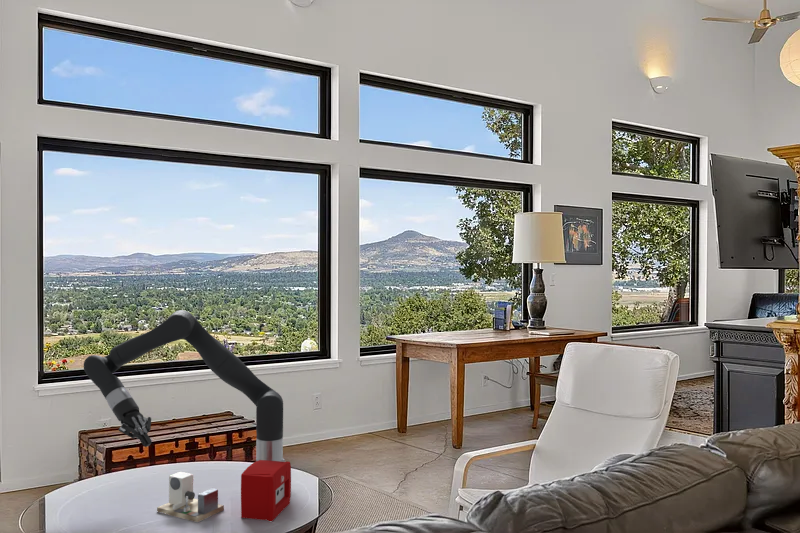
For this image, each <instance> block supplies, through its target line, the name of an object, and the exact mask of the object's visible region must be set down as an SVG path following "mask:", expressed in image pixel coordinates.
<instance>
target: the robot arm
mask: <svg viewBox="0 0 800 533" xmlns="http://www.w3.org/2000/svg"><path fill="white" fill-rule="evenodd" d="M179 340H184V341H186V342H187V343H188V344H189V345H191V346H192V347H193V348H194V349H195V350H196V351H197V353H198V354H199V356H200V357H201V359H202V360H203V362H204V363H205V365H206V366H207V367H208V368H209V369H210V371H212V373H214V375H216V376H217V377H218V378H219V379H221V381H222V382H224V383H226V384H228V385H229V386H231V387H232V388H234V389H236V390H237V391H239V392H240V393H243V394H244V395H245V396H246V397H247V398H248V399H249V400H250V401H251V402H252V403H253V404H254V406H255V408H256V412H255V414H256V415H255V419H256V420H255V422H256V423H255V424H256V425H255V426H256V428H255V431H256V434H255V435H256V437H255V438H256V443H255V444H256V445H255V446H256V448H255V449H256V452H255V453H256V454H255V455H256V456H255V458H256V459H255V462H256V461H259V460H268V461H280V462H286V459H285V458H284V454H283V453H284V452H283V451H284V442H283V440H284V439H283V438H284V400H283V398H282V395H280V393H279V392H277V391H276V390H275V389H273V388H271V387H270V386H269V385H268V384H266V383H265V382H263V381H262V380H261V379H260V378H258V377H257V376H256V375H255V374H254V373H253V371H252V370H251V369H250V368H249V367H248V366H247V365H246V364H245V363H244V361H242V360H241V359H240V358H239V357H238V356H237V355H235V354H234V353H233V352H232V351H231V350H230V349H228V347H226V346H225V345H224V344H223V343H221V341H219V340H218V339H217V338H215V337H214V336H213V335H212V334H210V333H209V332H208V330H206V329H205V327H204V326H203V325H202V324H201V323H200V322H199V321H198V319H197V318H196V317H195V316H194V315H193V314H192V313H191V312H189V311H187V310H183V309H181V310H176V311H174V312H172V314H170V315H169V316H168V317H167V318H166V319H165V320H164V321H162V322H161V323H160V324H159V325H157V326H156V327H155V328H152V329H150V330H149V331H147V332H144V333H143V334H139V335H137V336H134V337H132V338H129V339H127V340H125V341H124V342H121V343H120V344H117V345H116V346H114V347H112V348H111V349H110V351H109V354H107V355H105V356H100V355H95V354H91V355H88V356H87V357H86V358H85V359H84V361H83V370H84V373H85V374H86V376H87V377H88V378H89V379H90V381H92V383H94V385H95V386H97V388H98V389H99V391H100V393H101V394H102V395H103V397H104V399H105V401H106V402H107V404H108V406H109V408H110V409H111V411H112V413H113V415H114V416H115V418H116V420H118V422H120V424H121V426H120V427H119V428H118V431H119V432H121V433H122V434H124V435H126V436H127V437H130V438H132V439H135V438H136V439H138V440H139V441H140V443H141V444H142V445H143V447H144V448H148V447H150V446H151V445H152V443H153V442H152V441H153V440H152V439H151V437H150V436H149V434H148V433H149V432H150V431H151V428H152V417H150V416H147V417H145V416H144V415H143V414H142V413H141V412H140V407H139V406H138V403H137V402H136V401H135V399H134V398H133V396H132V394H131V392H129V391H128V390H127V389H126V387H125V386H124V384H123V382H122V381H121V379H120V378H119V377H118V376H117V375H115V374H114V373H115V372H117V371H118V370H119V369H121V368H122V366H124V365H126V364H128V363H131V362H132V361H135V360H137V359H138V358H140V357H142V356H144V355H145V354H147V353H149V352H151V351H153V350H154V349H155V350H156V349H157V348H160V347H162V346H164V345H167V344H170V343H172V342H173V343H174V342H176V341H179Z"/></svg>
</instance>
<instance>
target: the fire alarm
mask: <svg viewBox="0 0 800 533" xmlns="http://www.w3.org/2000/svg"><path fill="white" fill-rule="evenodd" d="M291 496H292V466H291V462H290V461H289V460H288V461H286V460H285V462H280V461H268V460H259V461H256V460H255V461H254V462H253V463H251V464H250V465H249V466H248V467H247V468H245V470H244V471H243V472H242V473H241V475H240V512H241V514H240V518H241V519H250V520H259V521H260V520H261V521H272V522H273V521H274V520H275V519H276V518H277V517H278V516H279V515H280V514H281V513H282V512H283V511H284V510H285V509H286V508H287V507H288V506H289V505H290V503H291Z"/></svg>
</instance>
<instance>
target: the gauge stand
mask: <svg viewBox="0 0 800 533" xmlns="http://www.w3.org/2000/svg"><path fill="white" fill-rule="evenodd" d="M173 505H174V504H169V502H167V503H164V504H162V505H160V506H158V507H156V508H157V509H156V512H157V511H158V512H157V513H159V512H163V513H166V514H165V515H167V514H168V516H171V517H174V518H175V517H176V518H179V519H183V520H186V519H187V521H192V522H194V523H199V522H201V521H205V519H207V518H209V517H212V516H214V515H216V514H218V513H221V512H223V511H224V510H225V505H223V504H220V503H218V508H217V509H215V510H213V511H211V512H209V513H206V514H201V513H198V498H195V497H194V499H193V502H191V503H189V504H188V506H190V511H188V512H184V507H185V506H186V505H184V506H182V507H180V508H177V509H175V510H174V509H173ZM163 513H162V514H163Z"/></svg>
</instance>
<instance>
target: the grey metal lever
mask: <svg viewBox="0 0 800 533" xmlns="http://www.w3.org/2000/svg"><path fill="white" fill-rule="evenodd" d="M188 511H190V506H188V496H186V506H185V507H184V512H188Z"/></svg>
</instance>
